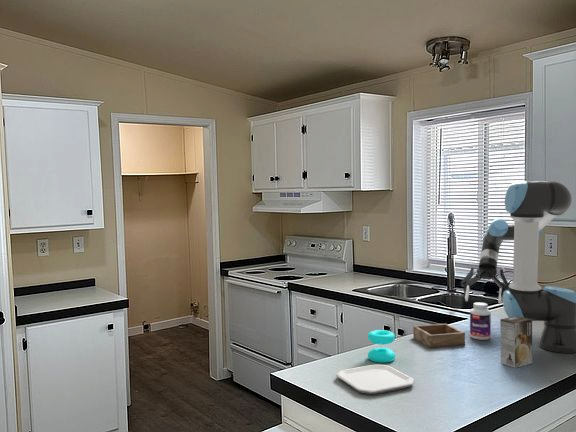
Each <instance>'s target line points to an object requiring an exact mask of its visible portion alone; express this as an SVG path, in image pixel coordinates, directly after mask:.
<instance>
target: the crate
mask: <svg viewBox="0 0 576 432" xmlns="http://www.w3.org/2000/svg"><path fill="white" fill-rule="evenodd" d="M412 326H413V328H412V329H413V337H412V338H413V339H414V340H416V341H418V342H420V343H421V344H423V345H425V347H428V348H429V347H430V349H435V348H434V347H439V348H447V347H449V348H450V347H459V346H460V347H461V346H466V332H465V331H462V330H460V329H458V328H456V327H454V326H452V325H449V324H448V323H436V324H424V325H412Z"/></svg>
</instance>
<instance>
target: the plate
mask: <svg viewBox="0 0 576 432" xmlns="http://www.w3.org/2000/svg"><path fill="white" fill-rule="evenodd" d="M335 376H336V377H337V378H338V379H339V380H341V381H343V382H344V383H346V384H347V385H348V386H350V387H352V388H353V389H354V390H355V391H358V392H359V393H361V394H364V393H366V395H372V394H373V395H379V394H383V392H384V393H389V392H392V391H393V392H394V391H398V390H403V389H404V390H405V389H406V388H408V387H411V386H413V384H414V382H415V379H414V378H413V377H411V376H409V375H407V374H405V373H403V372H402V371H399V370H397V369H396V368H394V367H392V366H390V365H387V364H379V363H376V364H369V365H362V366H357V367H353V368H348V369H347V368H346V369H341V370H339V371H338V373H336V375H335ZM378 393H379V394H378Z"/></svg>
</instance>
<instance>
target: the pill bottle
mask: <svg viewBox="0 0 576 432" xmlns="http://www.w3.org/2000/svg"><path fill="white" fill-rule="evenodd" d="M472 306H473V308H471V309H470V312H469V314H470V315H469V317H470V318H469V336H470V337H471V338H472V339H474V340H477V341H478V340H479V341H480V340H481V341H487V340H489V339H491V335H492V334H491V332H492V331H491V323H492V321H491V316H492V315H491V314H492V313H491V311H490V309H488V307H489V305H488V303H486V302H479V301H478V302H474V303H473V305H472Z"/></svg>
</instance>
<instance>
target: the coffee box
mask: <svg viewBox="0 0 576 432" xmlns="http://www.w3.org/2000/svg"><path fill="white" fill-rule="evenodd" d="M500 363H501V364H502V365H505V366H508V367H512V369H513V368H514V369H516V368H520V367H524V366H528V365H532V364H533V321H532V319H528V318H524V317H519V316H515V317H510V318H509V317H505V318H500Z"/></svg>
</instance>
